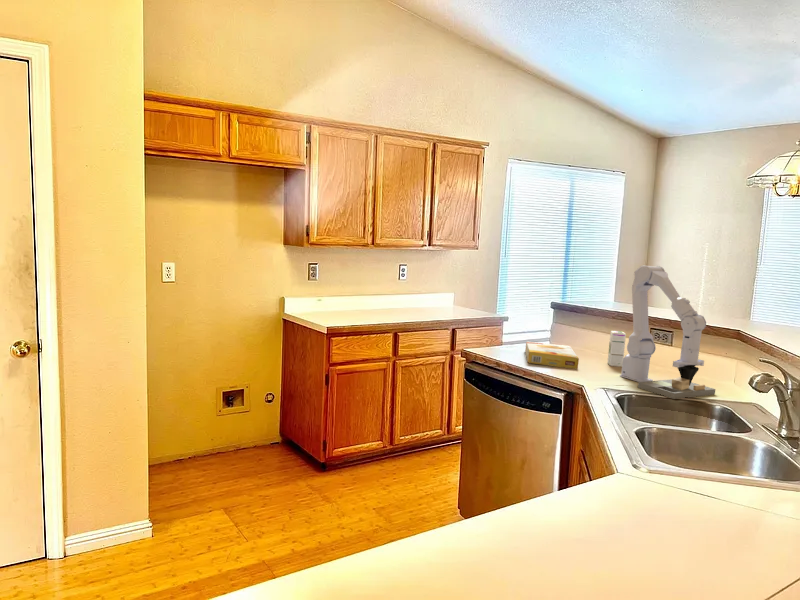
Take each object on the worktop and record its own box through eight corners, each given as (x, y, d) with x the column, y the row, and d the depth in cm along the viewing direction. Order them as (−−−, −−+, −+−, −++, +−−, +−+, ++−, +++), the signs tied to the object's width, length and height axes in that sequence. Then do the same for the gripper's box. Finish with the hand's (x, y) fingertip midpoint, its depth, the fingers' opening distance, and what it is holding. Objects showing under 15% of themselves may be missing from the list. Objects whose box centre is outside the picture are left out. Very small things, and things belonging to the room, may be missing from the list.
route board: (637, 387, 215) (638, 378, 214) (678, 383, 225) (679, 374, 225) (673, 399, 202) (674, 389, 201) (714, 394, 212) (716, 385, 212)
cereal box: (529, 351, 242) (525, 339, 270) (527, 364, 243) (524, 351, 271) (580, 357, 240) (570, 345, 267) (578, 370, 240) (569, 357, 268)
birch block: (671, 387, 210) (671, 379, 210) (679, 385, 212) (679, 377, 212) (681, 390, 207) (681, 382, 206) (689, 388, 209) (689, 379, 208)
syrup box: (623, 367, 250) (626, 333, 248) (608, 365, 251) (612, 332, 249) (620, 364, 255) (624, 331, 254) (606, 362, 257) (610, 330, 255)
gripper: (687, 351, 202) (682, 390, 204) (713, 350, 209) (708, 387, 211) (669, 347, 209) (664, 385, 210) (695, 346, 215) (691, 382, 217)
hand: (685, 386), depth 211 cm, fingers closed
